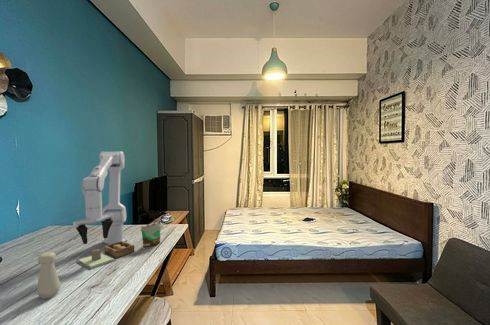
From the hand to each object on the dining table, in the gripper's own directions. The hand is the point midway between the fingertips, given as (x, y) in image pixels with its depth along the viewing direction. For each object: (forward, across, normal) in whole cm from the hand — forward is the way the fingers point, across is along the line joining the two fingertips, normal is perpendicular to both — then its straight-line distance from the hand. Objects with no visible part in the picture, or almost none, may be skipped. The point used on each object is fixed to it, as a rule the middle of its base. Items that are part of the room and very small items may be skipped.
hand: (95, 240), depth 103 cm
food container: (+9, +25, -3) cm, 27 cm away
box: (+8, +10, +1) cm, 13 cm away
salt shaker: (+8, -20, -14) cm, 26 cm away
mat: (+8, 0, 0) cm, 8 cm away
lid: (+8, 0, 0) cm, 8 cm away
